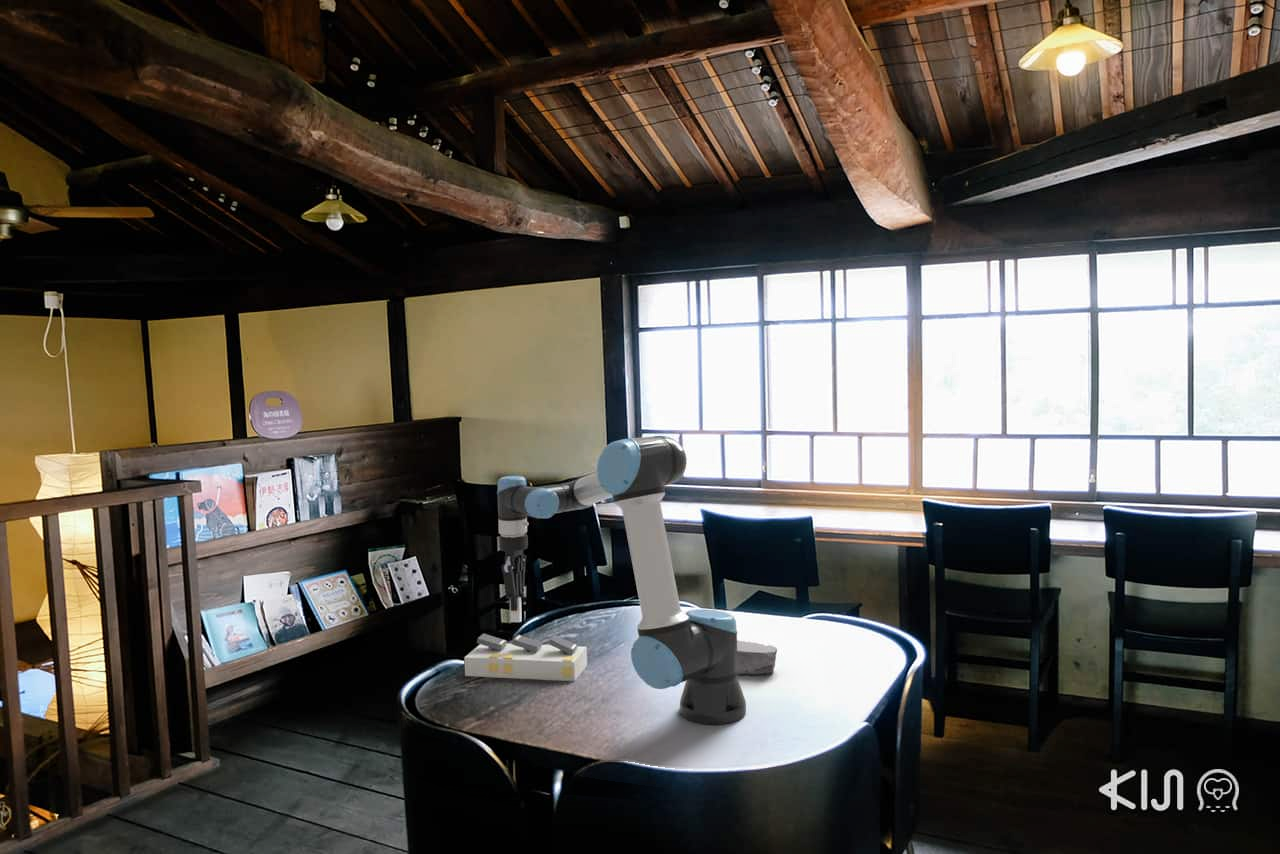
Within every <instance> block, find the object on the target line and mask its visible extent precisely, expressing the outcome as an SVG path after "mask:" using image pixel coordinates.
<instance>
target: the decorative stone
mask: <svg viewBox="0 0 1280 854" xmlns="http://www.w3.org/2000/svg"><path fill="white" fill-rule="evenodd" d="M777 651H778V648H777V647H775V646H774V645H771V644H768V645H765V644H763V643H762V644H761V643H758V642H751V641H745V640H739V639H737V675H738V676H747V677H759V676H769V674H770V675H772V674H773V673H774V670H775V666H776V658H777V657H776V656H777V653H778V652H777Z"/></svg>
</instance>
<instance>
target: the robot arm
mask: <svg viewBox="0 0 1280 854" xmlns="http://www.w3.org/2000/svg"><path fill="white" fill-rule="evenodd" d="M686 468H687V454H686V451H685V449H684V448H683V446H682V445H681V444H680V443H679V442H678V441H677V440H675V439H674V438H673V437H672V438H671V437H669V436H665V435H655V436H645V437H631V438H630V437H629V438H623V439H619V440H615V441H612V442H609V444H607V445H606V446H605V447H604V448H603V449H602V451H601V454H600V455H599V458H598V460H597V467H596V472H593V473H590V474H587V475H586V476H582V477H580V478H577V479H574V480H572V481H569V482H563V483H556V484H551V485H550V484H549V485H543V486H528V485H527V480H526V478H525V476H521V475H508V476H502V477H500V478H499V479H498V480H497V491H496V495H497V512H498V514H497V515H498V519H497V520H498V534H500V535H499V537H498V540H499V541H498V543H499V549H500V551H503V552H505V556H504V564H502V565H501V572H502V576H503V584H504V591H505V598H506V599H509V618H510V619H509V620H510V623H521V622H522V618H523V617H522V614H523V613H522V597H525V593H524V592H525V578H526V577H525V576H526V563H527V555H526V554H524V553H523V552H524V550H526V549H528V546H529V543H528V542H529V540H528V538H529V537H528V535H527V532H528V526H529V522H528V517H532V518H536V519H549V518H552V517H553V516H554V515H555V514H560V513H561V514H562V513H564V512H571V511H576V510H579V511H580V510H584V509H587V508H591V507H592V506H593V505H594V504H597V503H600V502H602V501H606V500H609V499H611V498H612V501H613V504H614V505H616V507H619V509H621V511H622V515H623V517H622V518H623V521H624V525H625V527H624V528H625V532H626V537H627V543H628V548H629V553H630V558H631V563H632V570H633V574H634V580H635V585H636V590H637V595H638V601H639V606H640V611H641V620H640V621H639V623H638V625H637V626H636V628H637V634H638V638H637V639H636V640H635V641H634V642H633V643H632V647H631V650H630V658H631V663H632V665H633V668H634V670H635V672H636V674H637V675H638V676H639V678H640V679H641V680H642V681H643V682H644V683H645V684H646V685H647V686H649V687H651V688H653V689H657V690H665V689H668V688H671V687H676V686H679V685H680V684H681V683H684V687H683V690H682V693H681V697H680V700H679V701H680V702H679V713H680V715H681V716H682V717H683V718H684V719H686V720H688V721H689V722H693V723H697V724H702V725H714V726H715V725H725V724H731V723H734V722H737V721H739V720H741V719H742V718H744V717H745V716H746V714H747V713H746V712H747V703H746V702H747V701H746V699H745V696H744V693H743V689H742V687H741V683H740V682H739V681H740V680H739V677H738V676H739V675H737V640H738V631H737V621H736V618H735V617H734V616H733V615H732V614H731V613H727V612H726V611H721V610H716V609H715V610H714V609H702V608H700V609H699V608H698V609H690V610H688V611H686V612H684V611H682V609H681V603H680V599H679V592H678V587H677V583H676V578H675V574H674V573H675V572H674V568H673V563H672V558H671V556H672V555H671V553H670V552H671V551H670V547H669V543H668V538H667V537H668V536H667V531H666V527H665V521H664V516H663V510H662V506H661V504H662V503H661V502H662V500H663V499H664V497H665V495H666V491H665V487H666V486H669V485H673V484H674V483H676V482H677V481H679V480H680V479H681V478H682V476H683V475H684V473H685V471H686Z"/></svg>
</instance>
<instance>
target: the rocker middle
mask: <svg viewBox="0 0 1280 854" xmlns="http://www.w3.org/2000/svg"><path fill="white" fill-rule="evenodd" d="M511 644H512V645H515V646H519V647H522V648H525V649H528V650H531V651H535V652H537V651H538V650H539V649H540V648H541V646H542V645H543V642H542V641H540V640H537V639H533V638H530V637H526V636H523V635H522V634H521V635H520V634H517V635H516V636H515V637H514V638H513V640H512V643H511Z"/></svg>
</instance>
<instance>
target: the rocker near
mask: <svg viewBox="0 0 1280 854" xmlns="http://www.w3.org/2000/svg"><path fill="white" fill-rule="evenodd" d="M548 641H549V642H548V643H547V645H551V646H554V647H556V648H558V649H560V650H562V651H564V652H566V653H568V654H570V655H573V653H574V652H575V651H576V649H577V647H578V646H579V645H578V644H576V643H574V642H572V641H569V640H567V639H565V638H564V637H561V636H559V635H557V634H553V635H552V636H551V637H550V638H549V640H548Z"/></svg>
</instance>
